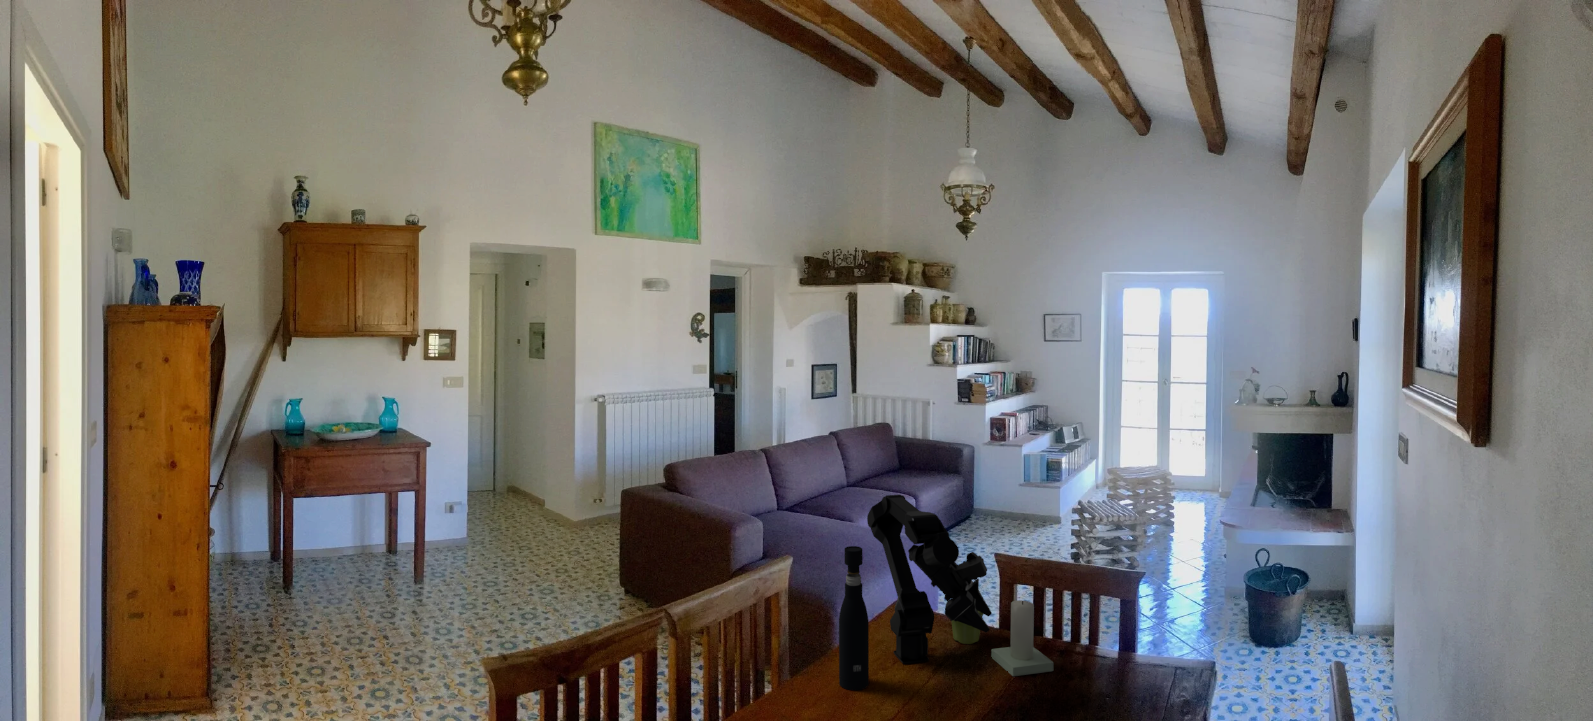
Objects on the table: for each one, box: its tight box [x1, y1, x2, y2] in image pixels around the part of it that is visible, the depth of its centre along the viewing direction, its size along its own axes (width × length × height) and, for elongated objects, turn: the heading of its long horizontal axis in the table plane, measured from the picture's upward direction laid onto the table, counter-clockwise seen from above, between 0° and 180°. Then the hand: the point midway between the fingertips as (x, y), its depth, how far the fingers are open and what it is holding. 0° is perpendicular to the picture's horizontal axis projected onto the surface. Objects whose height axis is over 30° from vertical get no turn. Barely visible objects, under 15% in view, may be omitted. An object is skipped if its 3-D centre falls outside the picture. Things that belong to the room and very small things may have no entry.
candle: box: [1010, 599, 1035, 660], centre depth 187 cm, size 5×5×13 cm
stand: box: [990, 646, 1054, 677], centre depth 188 cm, size 10×10×2 cm
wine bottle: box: [838, 545, 870, 691], centre depth 178 cm, size 6×6×30 cm
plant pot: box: [951, 610, 984, 645], centre depth 202 cm, size 9×9×9 cm
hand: (989, 622), depth 178 cm, fingers open, 9 cm apart
